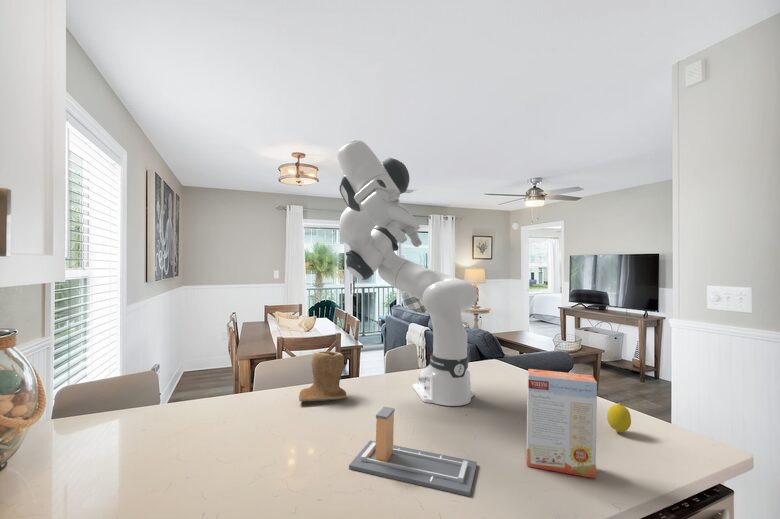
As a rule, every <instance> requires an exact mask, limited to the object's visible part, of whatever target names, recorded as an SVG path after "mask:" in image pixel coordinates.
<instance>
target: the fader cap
mask: <svg viewBox="0 0 780 519" xmlns="http://www.w3.org/2000/svg"><path fill="white" fill-rule="evenodd" d="M395 411H396V410H395V407H391V406H389V407H388V406H383V407H382V408H381V409H380V411H378V412H377V414H375V418H376V421H375V422H376V424H375V425H376V427H375V428H376V429H375V442H376V460H378V461H383V462H387V461H388V459H389V458H390V456H391V455H392V453H393V445H394V426H395V424H394V422H395V419H394V418H395Z"/></svg>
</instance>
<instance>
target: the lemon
mask: <svg viewBox="0 0 780 519" xmlns="http://www.w3.org/2000/svg"><path fill="white" fill-rule="evenodd" d="M606 417H607V418H606V419H607V423H608V425H609V427H611V428H612V429H613V430H614V431H615V432H616V433H618V434H620V433H622V432H626V431H628V430H629V429H630V426H631V425H632V417H631V413H630V411H629V409H628V408H627V407H626V406H624V405H623V404H621V403H616V404H612V405H610V407H609V409H608V411H607V415H606Z"/></svg>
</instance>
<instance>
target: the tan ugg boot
mask: <svg viewBox="0 0 780 519" xmlns="http://www.w3.org/2000/svg"><path fill="white" fill-rule="evenodd" d="M343 354H344V353H343ZM343 354H342V353H341V352H337V351H315V352H314V353H313V354H312V355H313V356H312V358H311V371H312V377H313V380H312V381H313V382H312V385H311V386H309V387H305V388H302V389H301V390H300V391H299V395H298V401H299V402H322V401H334V400H341V399H345V398H346V397H347V391H346V390H345V389H343V388H341V387H340V381H341V377H342V374H343V371H344V367H345V365H344V364H345V357H344V355H343Z"/></svg>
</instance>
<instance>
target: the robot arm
mask: <svg viewBox="0 0 780 519" xmlns="http://www.w3.org/2000/svg"><path fill="white" fill-rule="evenodd" d="M336 156H337V160H338V163H339V164H340V165H339V166H340V167H341V170H342V172H343V176H342V178H341V182H340V185H339V193H340V195H341V197H342V199H343V200H344V202H345V204H346V205H347V207H346V208H345V209H344V210H343V212H342V213H341V215H340V218H339V234H340V236H341V239H342V241H343V242H344V243H345V244H346V245H348V246H349V251H346V252H345V256H346V260H345V264H346V269H347V270H348V271H349V273H350V274H351V275H352V276H353V277H355V278H357V279H360V280H362V281H367V280H369V279H370V278H372V277H373V275H374V274H375V272H376V271H377V272H378V276H379V278H381V279H382V280H383V281H384V282H386V283H387V284H389V285H391V287H393V288H395V289H397V290H399V291H401V292H402V293H405V294H406V295H408V296H410V297H413V298H415V299H418V300H422V304H423V307H424V309H425V310H426V311H427V313H428V314H429V316H430V321H431V327H432V335H433V341H432V348H433V349H432V353H430V354H429V355H430V356H429V358H430V362H429V364H428V365H427V366H425V368H424V369H422V370H421V371H420V373H419V376H418V382H416V383H413V384H412V388H413V390H414V391H415V392H416V394H417V396H418V397H419V398H420V399H421V401H422V402H423V403H430V404H436V405H439V406H440V405H441V406H445V407H446V406H447V407H460V406H464V405H468V404H470V403H471V401H472V398H473V397H474V392H473V391H472V387H471V386H472V385H471V384H472V383H471V373H470V371H469V370H468V368H469V356H468V333H467V330H466V329H465V327H464V322H463V319H462V312H463V313H464V312H466V311H468V310H470V309H471V308H472V307H473V306H474V305H475V303H477V299H478V290H477V289H476V287H475V286H474V285H473V284H472V283H471V282H469V281H466V280H462V279H460V278H458V277H454V276H452V275H450V274H447V273H446V274H445V273H443V272H440V271H439V272H438V271H436V270H432V269H431V268H427V267H425V266H423V265H420V264H418V263H416V262H413V261H412V260H409V259H406V258H403V257H400V256H399V255H397V254H396V253H395V252H397V251H398V250H399V245H398V243H399V244H404V243H405V242H407V240H408V238H407V237H409V239H410V242H411V244H412V246H413V247H415V248H418V247H420V246H421V245H422V244H423V243H422V240H421V239H420V237H419V233H418V231H420V227H421V226H420V223H419V222H418V221H417V219H416V218H415V217H414V215H413V214H412V213H411V212H410V210H409V208H408V207H407V206H405V205H404V204H403V203H401V202H400V199H399V198H400V197H401V194H404V193H406V192H407V190H408V187H409V183H410V173H409V170H408V168H407V167H406V166H407V165H405V164H404V162H402V161H400V160H398V159H395V158H393V157H388V158H386V159H384V160H382V161H380V159H379V158H378V156H377V155H376V154H375V152H374V151H373V150H372V149H371V148H370V146H369V145H368V144H367V143H366V142H364V141H362V140H359V139H358V140H357V139H356V140H353V141H350V142H348V143H346V144H344V145H343V146H341V147H340V149H339V150H338V151H337V154H336ZM406 235H407V236H406Z"/></svg>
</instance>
